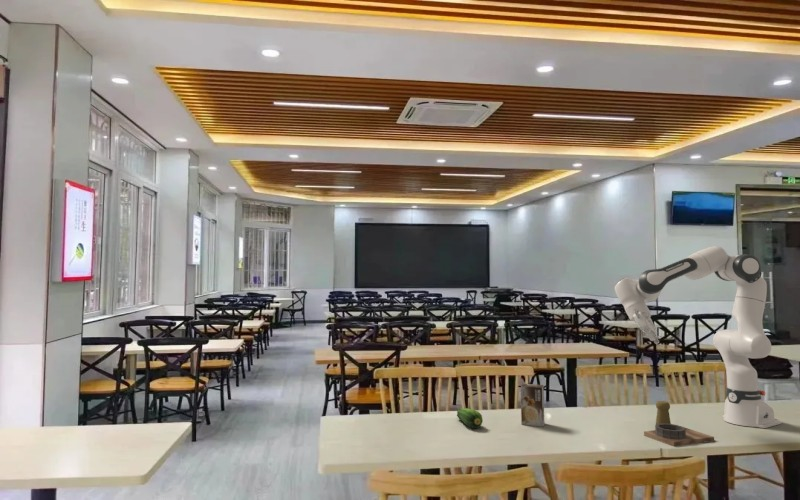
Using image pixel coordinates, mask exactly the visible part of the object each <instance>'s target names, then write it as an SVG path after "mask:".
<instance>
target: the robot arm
mask: <svg viewBox="0 0 800 500" xmlns="http://www.w3.org/2000/svg"><path fill="white" fill-rule="evenodd" d="M713 273H714V274H715V275H716V277H717V278H719V279H720V280H722V281H725V282H735V283H736V293H735V298H734V301H733V307H732V311H731V315H732V317H733V319H735V321H736V323H737V329H731V328H730V329H721V330H718V331H717V332H716V333H715V334H714V335H713V338H712V343H713V346H714V348H715V349H716V350H717V351H718V352H719V353H720V356H721V358H722V361H723V363H724V367H725V372H726V387H725V394H726V398H725V400H724V412H723V414H722V418H723V420H724V422H727V423H729V424H732V425H733V424H734V425H737V426H744V427H751V428H752V427H753V428H760V429H766V428H771V427H774V426H778V425H782V421H781V420H780V419H777V418H775V411H774V409H773V407H772V406H770V405H769V404H768V403H766V401H764V400H763V399H762V396H766V392H765V390H761V389H760V390H759V384H758V371H757V370H756V368H754V366H753V365H752V363H750V360H749V359H764V358H766V357H768V356H769V355H770V354H771V351H772V343H771V341H770V339H769V338H768V337H767V335H766V333H765V330H764V325H763V318H764V311H765V307H766V302H767V293H768V290H767V289H768V285H767V281H766V280H765V278H763V277H761V276H762V266H761V262H760V260H759V259H758V258H757V257H756V256H755V255H751V254H746V253H743V254H736V255H728V253H727V251H726V250H725V249H724V248H723V247H721V246H718V245H713V246H709V247H706V248H702V249H700V250H698V251H696V252H694V253H692V254H690V255H688V256H686V257H684V258H682V259H681V260H679V261H675V262H672V263H670V264H668V265H666V266H663V267H660V268H655V269H648V270H644V271H643V272H641V274H640V276H639V277H638V278H639V279H632V278H629V277H624V278H622V279H620V280H619V281H618V282H617V283H616V284H615V286H614V292H615V296H616V298H618V300H619V302H620V303H621V305H622V306H623V308H624V311H625V313H626V315H627V316H628V319H629V320H630V321H631V322H634V323H636V324H637V326H638V328H639V330H640V331H642V332H643V333H645V335H646V336H647V338H648V339H649V341H651V342H653V343H654V344H656V345H657V344H659V343H660V340H659V339H658V336H657V334H658V331H657V329H656V327H655V324H654V322H653V319H652V318H651V317H652V315H651V311H650V309H649V307H648V305H647V304H648V303H650V302H651V303H652V302H654V301H656V300H657V299H658V298H659V296H660V295H661V292H662V290H664V289H663V288H664V287H665V286H666V285H667V284H668V283H669V282H671V281H673V280H676V279H679V278H680V277H681V278H682V277H684V276H685V277H686V278H687V279H689V280H692V281H694V280H695V281H696V280H699V279H703V278H705V277H707V276H710V275H711V274H713ZM646 303H647V304H646Z"/></svg>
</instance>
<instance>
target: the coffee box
mask: <svg viewBox="0 0 800 500" xmlns="http://www.w3.org/2000/svg"><path fill="white" fill-rule="evenodd" d="M544 394H545V393H544V385H543V384H533V383H522V384H521V386H520V408H521V409H520V413H521V414H520V416H521V417H520V419H521V421H520V422H521V425H523V426H532V427H544V426H545V397H544V396H545V395H544Z"/></svg>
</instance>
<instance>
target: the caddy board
mask: <svg viewBox="0 0 800 500" xmlns="http://www.w3.org/2000/svg"><path fill="white" fill-rule="evenodd" d="M643 436H645V437H647V438H650V439H653V440H656V441H658V442H660V443H661V442H662V443H664V444H666V445H669V446H672V447H679V446H686V445H694V444H700V443H707V442H709V443H710V442H715V437H714V436H713V435H709V434H706V433H703V432H700V431H697V430H694V429H690V428H687V427H685V426H681V425H679V424H674V423H671V424H657V425H656V424H655V429H654V430H646V431H643Z"/></svg>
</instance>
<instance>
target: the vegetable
mask: <svg viewBox="0 0 800 500" xmlns="http://www.w3.org/2000/svg"><path fill="white" fill-rule="evenodd" d="M456 416H457V418H458V419H459V420H460V421H461V422H463V423H464V424H465V425H466V426H467V427H469V428H471V429H478V428H480V427H481V426H482V423H483V415H482V413H480V411H478V410H476V409H472V408H467V407H464V408H463V407H462V408H461V407H460V408H458V409H457V411H456Z"/></svg>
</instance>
